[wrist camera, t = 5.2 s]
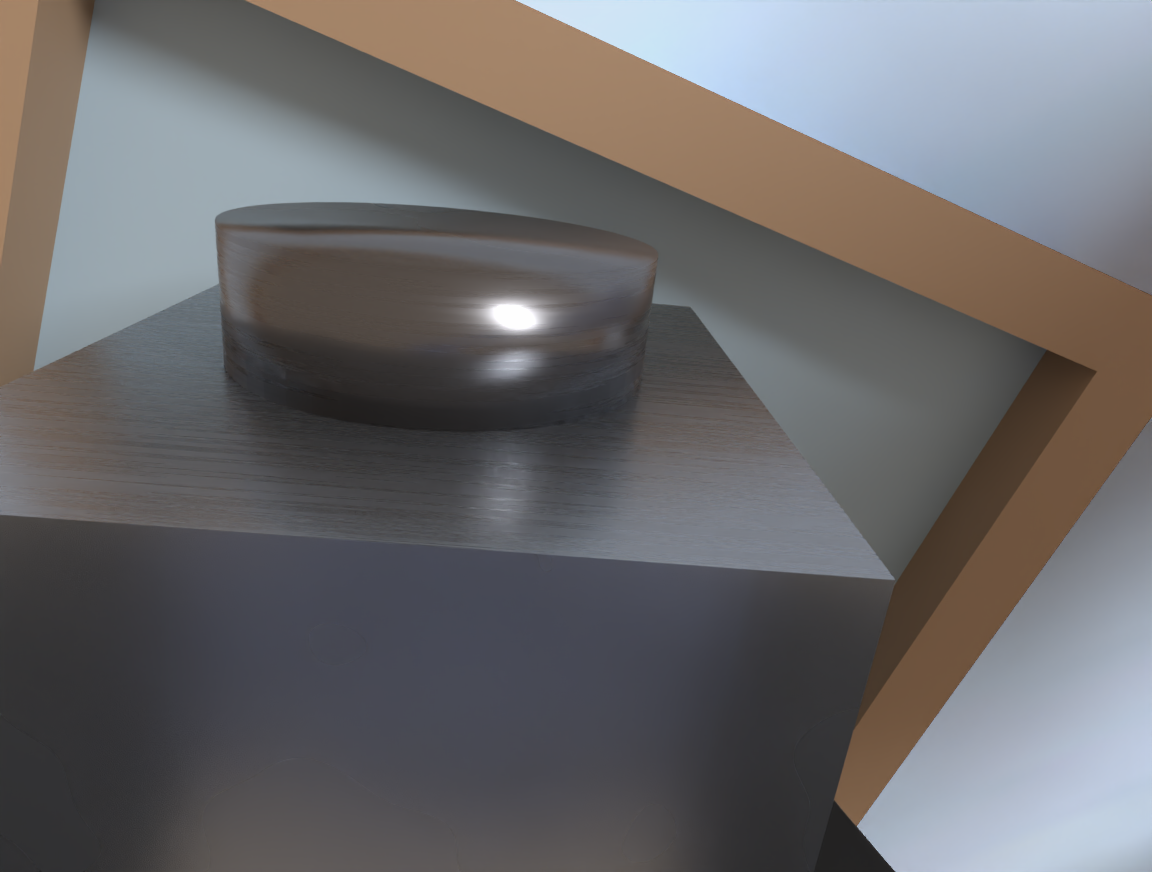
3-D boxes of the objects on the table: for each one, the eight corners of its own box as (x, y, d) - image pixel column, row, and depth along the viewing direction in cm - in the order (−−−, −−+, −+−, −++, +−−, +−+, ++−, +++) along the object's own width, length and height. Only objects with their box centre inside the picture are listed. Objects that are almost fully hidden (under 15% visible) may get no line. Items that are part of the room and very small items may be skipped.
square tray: (1062, 275, 12) (1217, 326, 9) (675, 889, 17) (701, 1042, 14) (119, -156, 10) (-54, -263, 7) (-24, 705, 14) (-158, 848, 12)
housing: (612, 821, 12) (661, 1411, 7) (280, 804, 12) (38, 1405, 6) (704, 219, 9) (953, 374, 3) (250, 174, 9) (-305, 261, 3)
